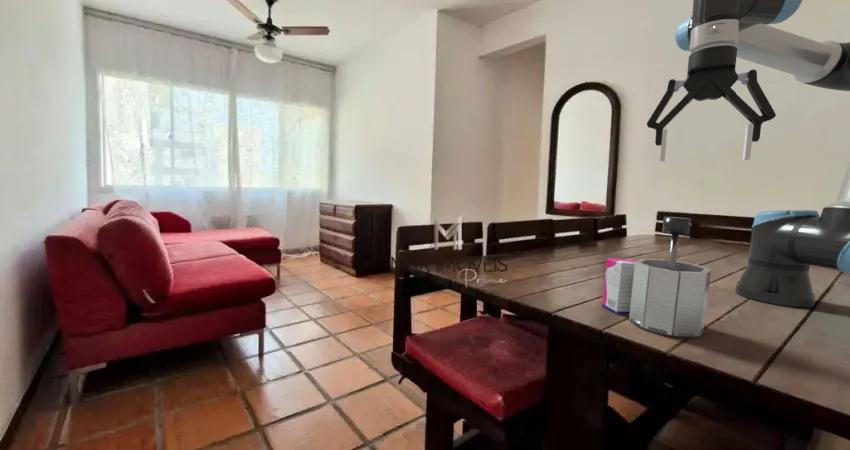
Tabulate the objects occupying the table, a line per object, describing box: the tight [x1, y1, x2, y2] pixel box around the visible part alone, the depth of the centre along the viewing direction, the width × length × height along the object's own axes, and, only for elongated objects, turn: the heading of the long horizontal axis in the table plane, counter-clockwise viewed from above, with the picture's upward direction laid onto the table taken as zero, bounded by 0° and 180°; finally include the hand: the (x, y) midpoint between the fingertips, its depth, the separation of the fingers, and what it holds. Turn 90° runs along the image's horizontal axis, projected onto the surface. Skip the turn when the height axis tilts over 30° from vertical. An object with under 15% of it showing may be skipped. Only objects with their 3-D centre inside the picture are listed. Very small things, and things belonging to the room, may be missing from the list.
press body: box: [628, 258, 712, 340], centre depth 75 cm, size 12×15×12 cm
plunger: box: [662, 216, 692, 271], centre depth 73 cm, size 8×8×20 cm
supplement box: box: [601, 257, 636, 315], centre depth 83 cm, size 6×6×12 cm
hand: (702, 160), depth 75 cm, fingers open, 13 cm apart
